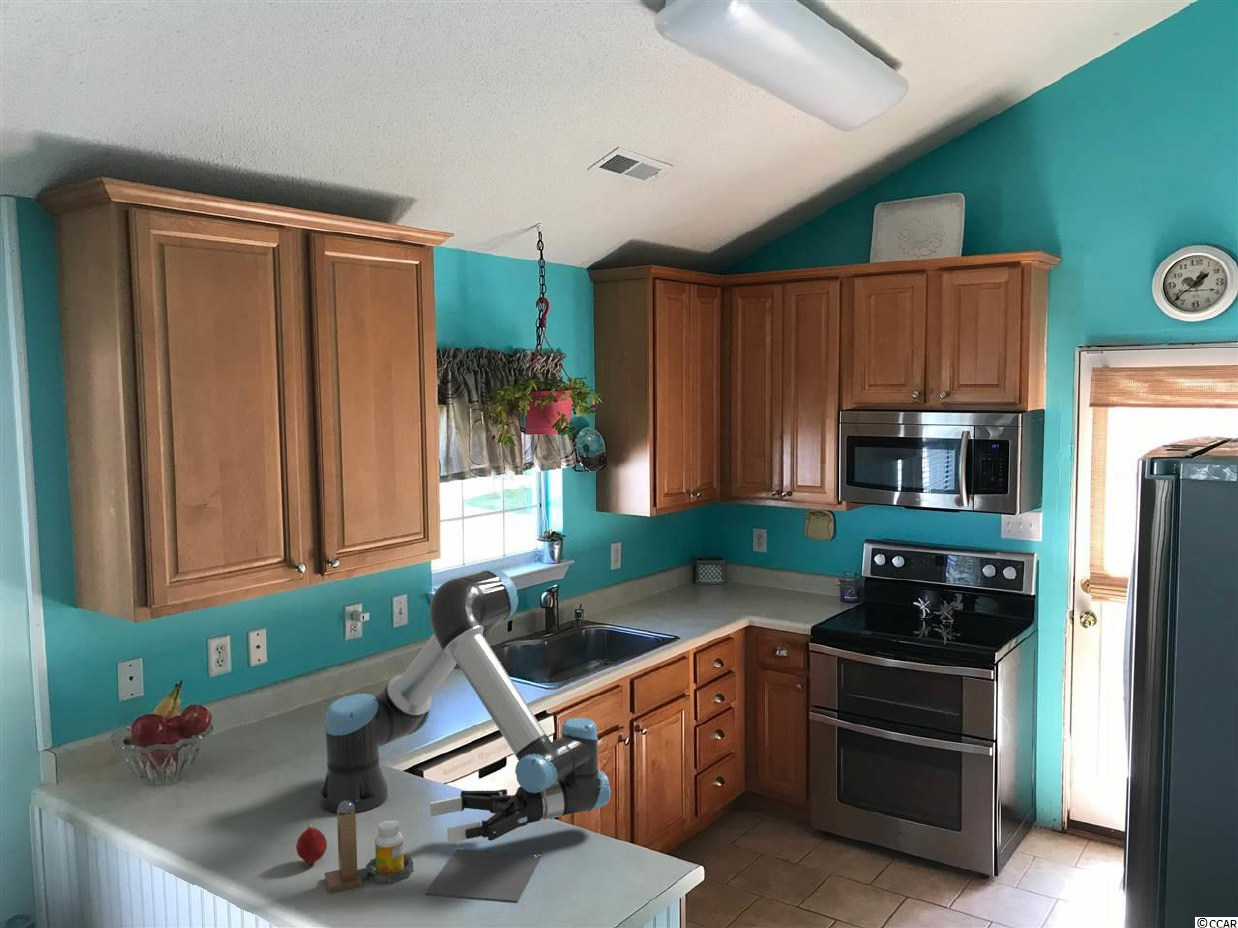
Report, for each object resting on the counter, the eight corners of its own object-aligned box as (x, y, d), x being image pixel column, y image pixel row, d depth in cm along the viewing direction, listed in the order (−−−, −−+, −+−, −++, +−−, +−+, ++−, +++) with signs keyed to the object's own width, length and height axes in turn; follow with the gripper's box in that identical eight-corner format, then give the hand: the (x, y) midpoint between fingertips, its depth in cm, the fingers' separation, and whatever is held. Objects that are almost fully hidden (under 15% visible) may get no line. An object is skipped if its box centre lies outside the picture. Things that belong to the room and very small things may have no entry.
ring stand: (345, 857, 198) (342, 780, 197) (419, 863, 195) (417, 785, 194) (312, 891, 185) (309, 809, 183) (392, 898, 182) (389, 815, 181)
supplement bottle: (370, 873, 191) (368, 825, 191) (392, 862, 196) (391, 815, 195) (387, 881, 188) (385, 833, 187) (409, 871, 192) (408, 823, 191)
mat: (457, 849, 201) (457, 848, 201) (541, 856, 198) (541, 854, 198) (425, 894, 183) (425, 892, 183) (517, 902, 180) (517, 900, 180)
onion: (330, 856, 199) (329, 818, 198) (322, 869, 193) (321, 830, 192) (301, 856, 198) (300, 818, 198) (293, 870, 193) (291, 831, 192)
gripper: (560, 843, 193) (456, 866, 184) (519, 797, 216) (424, 816, 207) (560, 806, 193) (455, 828, 184) (518, 764, 215) (423, 782, 206)
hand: (438, 822), depth 195 cm, fingers open, 13 cm apart
